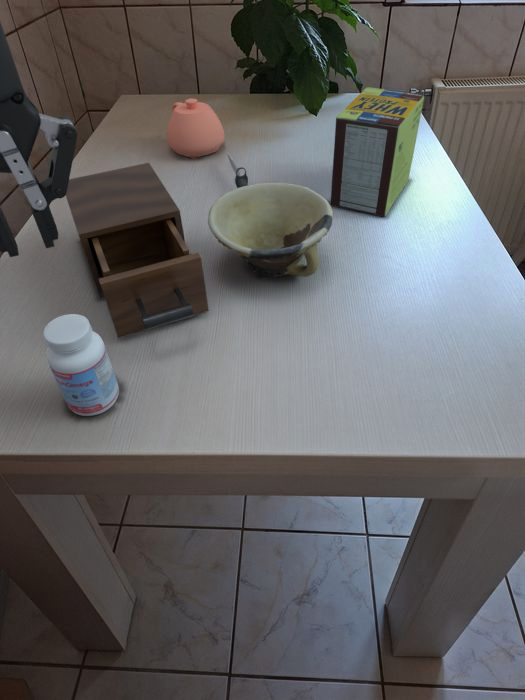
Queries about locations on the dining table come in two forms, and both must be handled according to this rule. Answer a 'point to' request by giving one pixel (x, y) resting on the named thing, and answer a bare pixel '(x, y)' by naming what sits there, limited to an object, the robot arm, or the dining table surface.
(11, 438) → the dining table surface
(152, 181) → the cabinet
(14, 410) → the dining table surface
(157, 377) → the dining table surface
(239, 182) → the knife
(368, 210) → the protein box
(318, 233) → the bowl
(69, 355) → the pill bottle
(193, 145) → the sugar bowl
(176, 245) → the drawer
